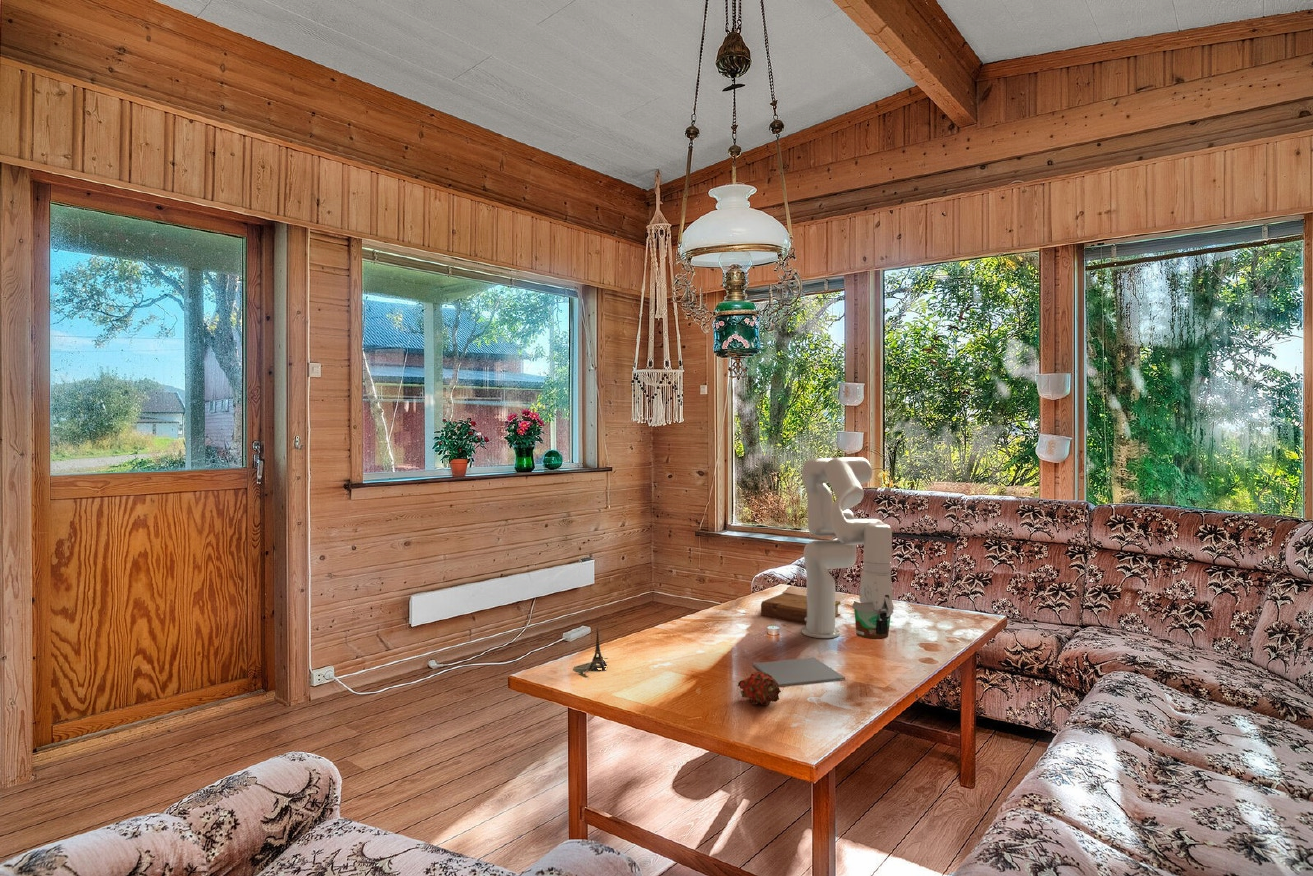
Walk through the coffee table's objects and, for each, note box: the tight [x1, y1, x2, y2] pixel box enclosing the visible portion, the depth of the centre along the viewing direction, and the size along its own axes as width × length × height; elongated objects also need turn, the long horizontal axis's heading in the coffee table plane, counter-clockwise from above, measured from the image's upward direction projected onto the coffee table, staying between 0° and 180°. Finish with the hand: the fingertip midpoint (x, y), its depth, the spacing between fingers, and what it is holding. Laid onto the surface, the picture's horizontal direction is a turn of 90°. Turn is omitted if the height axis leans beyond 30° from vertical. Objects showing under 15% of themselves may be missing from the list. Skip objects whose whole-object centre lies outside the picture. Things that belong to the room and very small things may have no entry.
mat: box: [752, 657, 846, 688], centre depth 211 cm, size 18×20×1 cm
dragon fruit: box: [737, 671, 782, 706], centre depth 188 cm, size 8×8×12 cm
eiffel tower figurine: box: [572, 624, 609, 678], centre depth 215 cm, size 15×10×13 cm
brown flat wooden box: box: [760, 592, 841, 625], centre depth 273 cm, size 23×19×6 cm
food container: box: [851, 600, 895, 640], centre depth 207 cm, size 12×6×10 cm, turn 106°
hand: (875, 630), depth 208 cm, fingers closed on food container, 5 cm apart
